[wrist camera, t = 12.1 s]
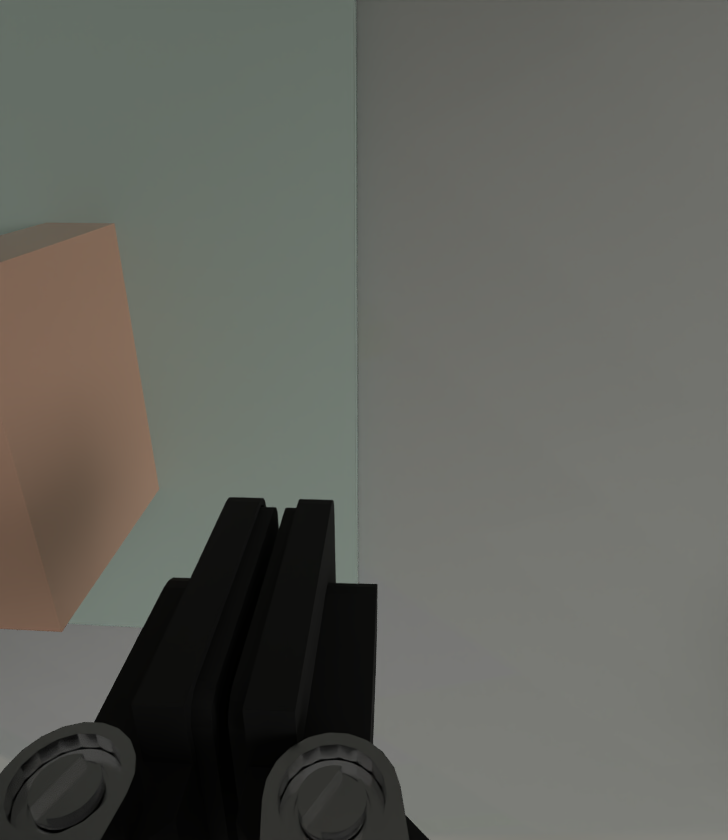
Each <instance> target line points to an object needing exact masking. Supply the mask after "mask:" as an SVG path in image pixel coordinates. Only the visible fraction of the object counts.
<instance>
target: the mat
mask: <svg viewBox="0 0 728 840" xmlns="http://www.w3.org/2000/svg"><path fill="white" fill-rule="evenodd" d="M43 223H115V229H116V235H117V241H118V247H119V253H120V259H121V265H122V271H123V277H124V283H125V289H126V295H127V300H128V306H129V312H130V318H131V324H132V330H133V336H134V342H135V348H136V354H137V360H138V366H139V372H140V378H141V384H142V390H143V395H144V401H145V407H146V413H147V419H148V425H149V431H150V437H151V443H152V449H153V455H154V461H155V467H156V473H157V479H158V484H159V490H158V492H157V493H156V495H155V496H154V498H153V499H152V501H151V502H150V503H149V505H148V506H147V508H146V509H145V511H144V512H143V514H142V515H141V517H140V518H139V520H138V521H137V523H136V524H135V525H134V527H133V528H132V530H131V531H130V533H129V534H128V536H127V537H126V539H125V540H124V542H123V543H122V545H121V546H120V547H119V549H118V550H117V552H116V553H115V555H114V556H113V558H112V559H111V561H110V562H109V564H108V565H107V567H106V568H105V569H104V571H103V572H102V574H101V575H100V577H99V578H98V580H97V581H96V583H95V584H94V586H93V587H92V589H91V590H90V591H89V593H88V594H87V596H86V597H85V599H84V600H83V602H82V603H81V605H80V606H79V608H78V609H77V610H76V612H75V613H74V615H73V616H72V618H71V619H70V621H69V622H68V624H82V625H102V626H121V627H140V628H143V627H144V625H145V623H146V621H147V619H148V617H149V615H150V613H151V611H152V609H153V607H154V605H155V603H156V601H157V599H158V597H159V595H160V594H161V592H162V590H163V588H164V586H165V585H166V583H167V582H168V580H170V579H171V578H173V577H175V578H191V576H192V573H193V571H194V569H195V567H196V565H197V563H198V561H199V558H200V556H201V554H202V552H203V550H204V548H205V546H206V543H207V541H208V539H209V537H210V535H211V533H212V531H213V528H214V526H215V524H216V522H217V520H218V518H219V515H220V513H221V511H222V509H223V507H224V505H225V503H226V501H227V499H228V498H229V497H248V498H264V500H265V503H266V507H276V508H277V512H278V524H279V527H280V524H281V520H282V517H283V514H284V510H285V508H296V507H297V504H298V501H299V499H320V500H333V501H334V514H335V562H336V583H356V584H358V371H357V70H356V0H0V235H3V234H7V233H10V232H14V231H18V230H21V229H25V228H28V227H32V226H36V225H39V224H43Z"/></svg>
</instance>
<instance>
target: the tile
mask: <svg viewBox="0 0 728 840" xmlns="http://www.w3.org/2000/svg"><path fill="white" fill-rule="evenodd" d="M158 490H159V484H158V479H157V473H156V467H155V461H154V455H153V449H152V443H151V437H150V431H149V425H148V419H147V413H146V407H145V401H144V395H143V390H142V384H141V378H140V372H139V366H138V360H137V354H136V348H135V342H134V336H133V330H132V324H131V318H130V312H129V306H128V300H127V295H126V289H125V283H124V277H123V271H122V265H121V259H120V253H119V247H118V241H117V235H116V229H115V223H43V224H39V225H36V226H32V227H28V228H25V229H21V230H18V231H14V232H10V233H7V234H3V235H0V629H17V630H37V631H56V632H62V631H63V630H64V628H65V627H66V625H67V624H68V622H69V621H70V619H71V618H72V616H73V615H74V613H75V612H76V610H77V609H78V608H79V606H80V605H81V603H82V602H83V600H84V599H85V597H86V596H87V594H88V593H89V591H90V590H91V589H92V587H93V586H94V584H95V583H96V581H97V580H98V578H99V577H100V575H101V574H102V572H103V571H104V569H105V568H106V567H107V565H108V564H109V562H110V561H111V559H112V558H113V556H114V555H115V553H116V552H117V550H118V549H119V547H120V546H121V545H122V543H123V542H124V540H125V539H126V537H127V536H128V534H129V533H130V531H131V530H132V528H133V527H134V525H135V524H136V523H137V521H138V520H139V518H140V517H141V515H142V514H143V512H144V511H145V509H146V508H147V506H148V505H149V503H150V502H151V501H152V499H153V498H154V496H155V495H156V493H157V492H158Z"/></svg>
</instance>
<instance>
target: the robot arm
mask: <svg viewBox="0 0 728 840" xmlns="http://www.w3.org/2000/svg"><path fill="white" fill-rule="evenodd" d="M376 642H377V584H356V583H336V562H335V514H334V501H333V500H320V499H299V501H298V504H297V507H296V508H285V510H284V514H283V517H282V520H281V524H280V527H279V524H278V512H277V508H276V507H266V503H265V500H264V498H248V497H229V498H228V499H227V501H226V503H225V505H224V507H223V509H222V511H221V513H220V515H219V518H218V520H217V522H216V524H215V526H214V528H213V531H212V533H211V535H210V537H209V539H208V541H207V543H206V546H205V548H204V550H203V552H202V554H201V556H200V558H199V561H198V563H197V565H196V567H195V569H194V571H193V573H192V576H191V578H175V577H173V578H171V579H170V580H168V582H167V583H166V585H165V586H164V588H163V590H162V592H161V594H160V595H159V597H158V599H157V601H156V603H155V605H154V607H153V609H152V611H151V613H150V615H149V617H148V619H147V621H146V623H145V625H144V627H143V629H142V630H141V632H140V634H139V636H138V638H137V640H136V642H135V644H134V646H133V648H132V650H131V652H130V654H129V656H128V658H127V660H126V662H125V663H124V665H123V667H122V669H121V671H120V673H119V675H118V677H117V679H116V681H115V683H114V685H113V687H112V689H111V691H110V693H109V695H108V696H107V698H106V700H105V702H104V704H103V706H102V708H101V710H100V712H99V714H98V716H97V718H96V720H95V722H82V723H78V724H73V725H69V726H64V727H61V728H59V729H57V730H55V731H52V732H50V733H48V734H46V735H43V736H41V737H40V738H39V739H37V740H36V741H34V742H33V743H31V744H30V745H29V746H27V747H26V748H24V749H23V750H22V751H21V752H20V753H19V754H18V755H17V756H16V757H15V758H14V759H13V760H12V761H11V762H10V763H9V764H8V765H7V766H6V767H5V768H4V770H3V771H2V772H1V773H0V840H429V839H428V838H427V837H426V836H425V835H424V834H423V833H422V832H421V831H420V830H419V829H418V828H417V827H416V826H415V825H414V823H413V822H412V821H411V820H410V819H409V818H408V817H407V816H406V815H405V810H404V804H403V798H402V792H401V786H400V783H399V780H398V777H397V774H396V771H395V768H394V766H393V765H392V764H391V762H390V761H389V760H388V758H387V757H386V756H385V754H384V753H383V752H382V751H381V750H380V749H378V748H377V747H376V746H374V745H373V729H374V702H375V676H376Z"/></svg>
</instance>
